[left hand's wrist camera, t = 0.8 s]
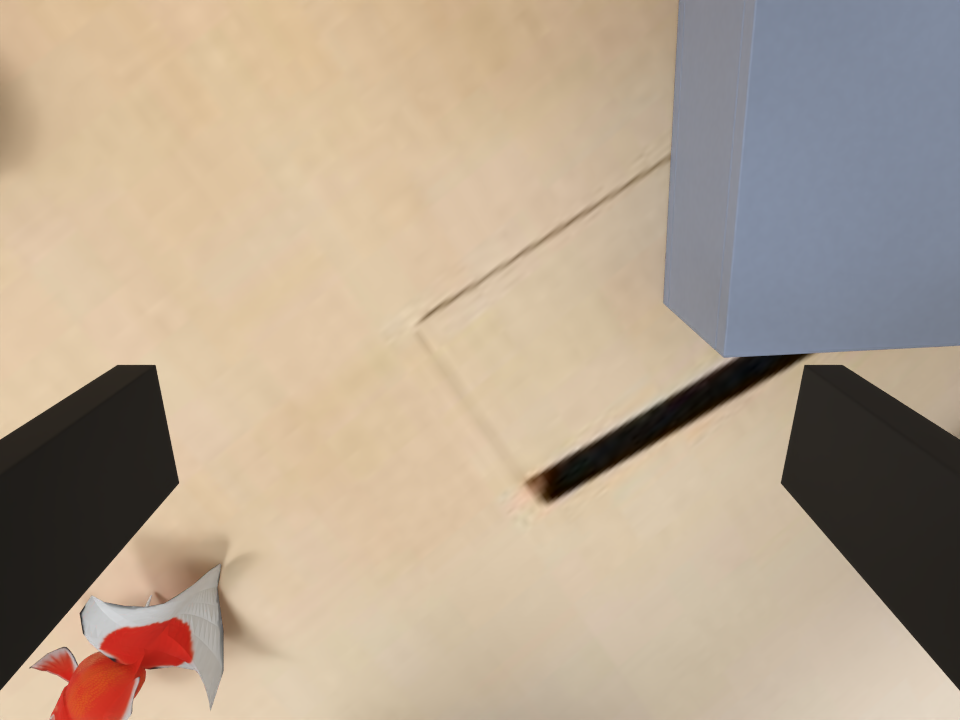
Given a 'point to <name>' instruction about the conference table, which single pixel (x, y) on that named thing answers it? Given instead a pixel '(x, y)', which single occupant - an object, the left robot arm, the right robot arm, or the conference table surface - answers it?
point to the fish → (139, 650)
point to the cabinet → (816, 175)
